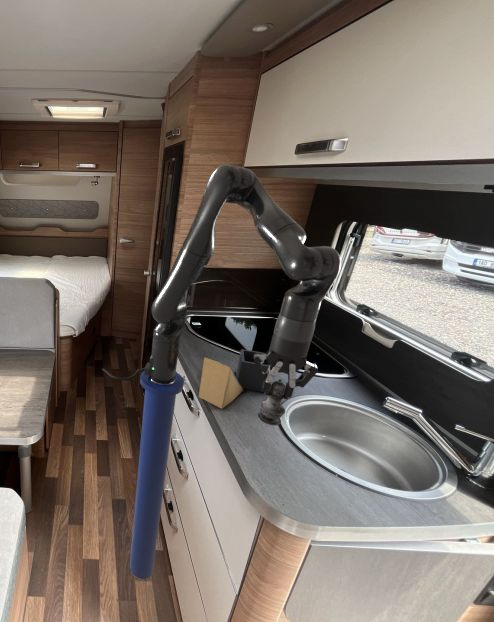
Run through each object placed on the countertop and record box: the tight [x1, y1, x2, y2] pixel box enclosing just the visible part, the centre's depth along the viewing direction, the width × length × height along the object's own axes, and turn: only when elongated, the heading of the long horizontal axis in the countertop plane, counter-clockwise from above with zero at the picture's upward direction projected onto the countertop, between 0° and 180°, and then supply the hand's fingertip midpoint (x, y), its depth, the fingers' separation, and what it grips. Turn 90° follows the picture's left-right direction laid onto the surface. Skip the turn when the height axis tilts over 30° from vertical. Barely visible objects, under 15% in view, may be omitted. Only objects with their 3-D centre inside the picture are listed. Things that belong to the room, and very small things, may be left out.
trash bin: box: [235, 348, 270, 393], centre depth 117 cm, size 10×10×10 cm
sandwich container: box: [198, 357, 244, 410], centre depth 110 cm, size 9×15×15 cm, turn 131°
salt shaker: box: [257, 378, 286, 426], centre depth 84 cm, size 6×6×12 cm
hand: (275, 395), depth 84 cm, fingers closed on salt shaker, 3 cm apart
